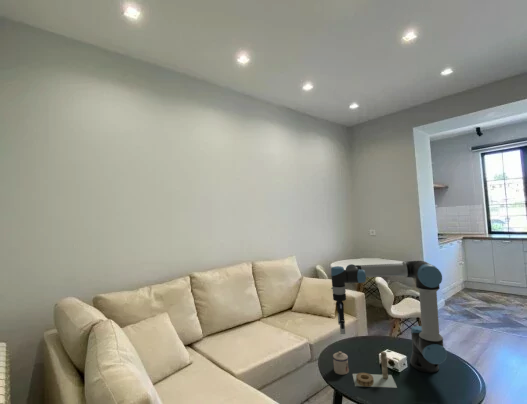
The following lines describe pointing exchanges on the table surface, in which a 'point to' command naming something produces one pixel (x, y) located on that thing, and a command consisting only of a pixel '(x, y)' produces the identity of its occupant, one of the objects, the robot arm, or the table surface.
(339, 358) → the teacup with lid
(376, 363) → the table surface
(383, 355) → the birch dowel
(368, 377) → the wooden ring
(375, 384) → the felt mat
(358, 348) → the table surface
